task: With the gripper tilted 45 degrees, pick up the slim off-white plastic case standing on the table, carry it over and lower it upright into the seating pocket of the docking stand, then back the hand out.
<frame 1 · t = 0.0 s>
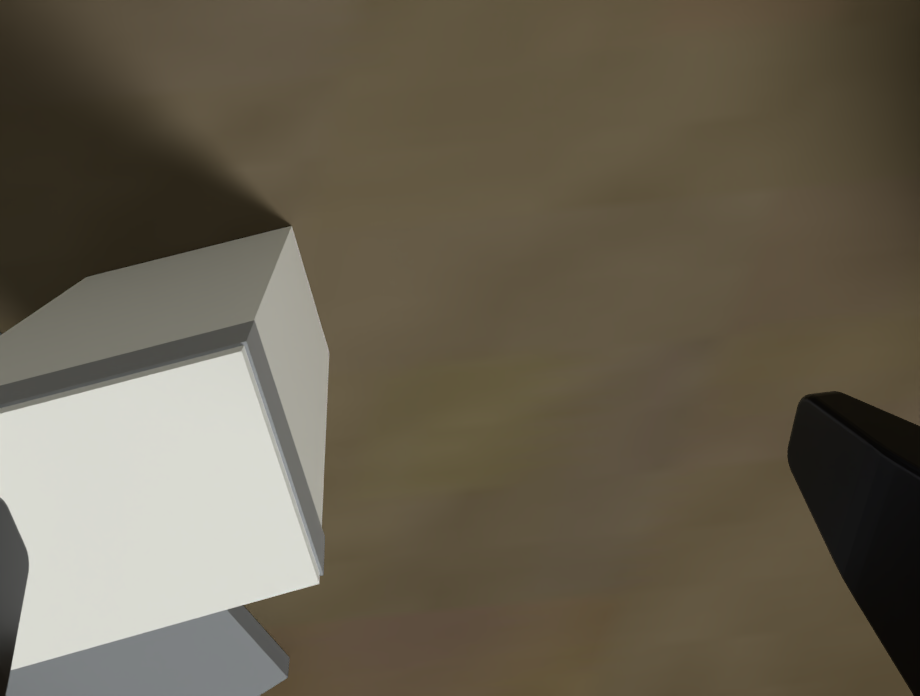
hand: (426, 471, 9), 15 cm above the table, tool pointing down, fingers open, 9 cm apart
slim case: (212, 316, 24), on the table
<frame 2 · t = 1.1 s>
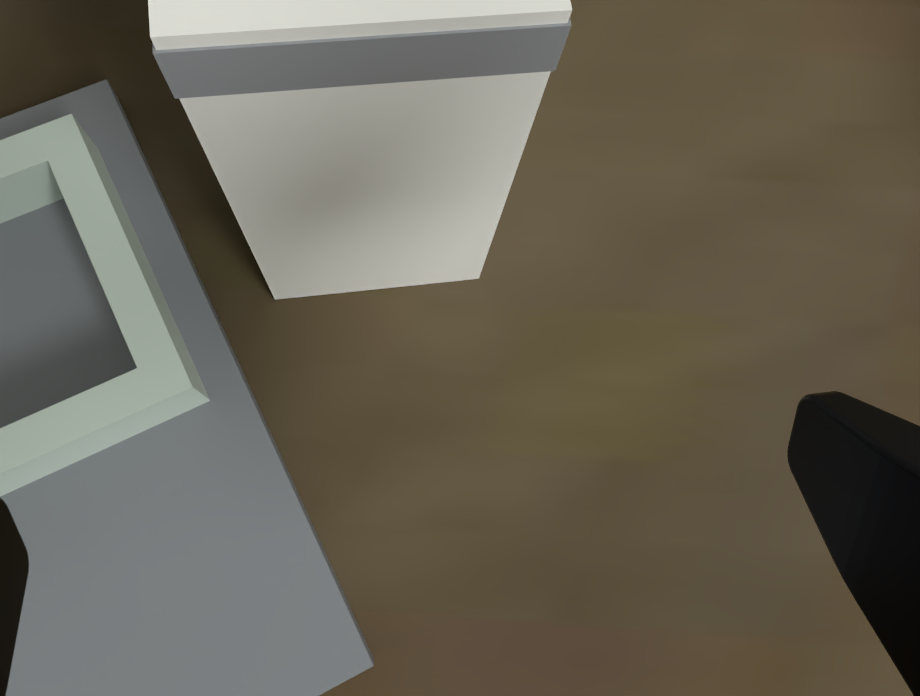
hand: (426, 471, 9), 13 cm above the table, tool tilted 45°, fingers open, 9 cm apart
slim case: (370, 225, 24), on the table
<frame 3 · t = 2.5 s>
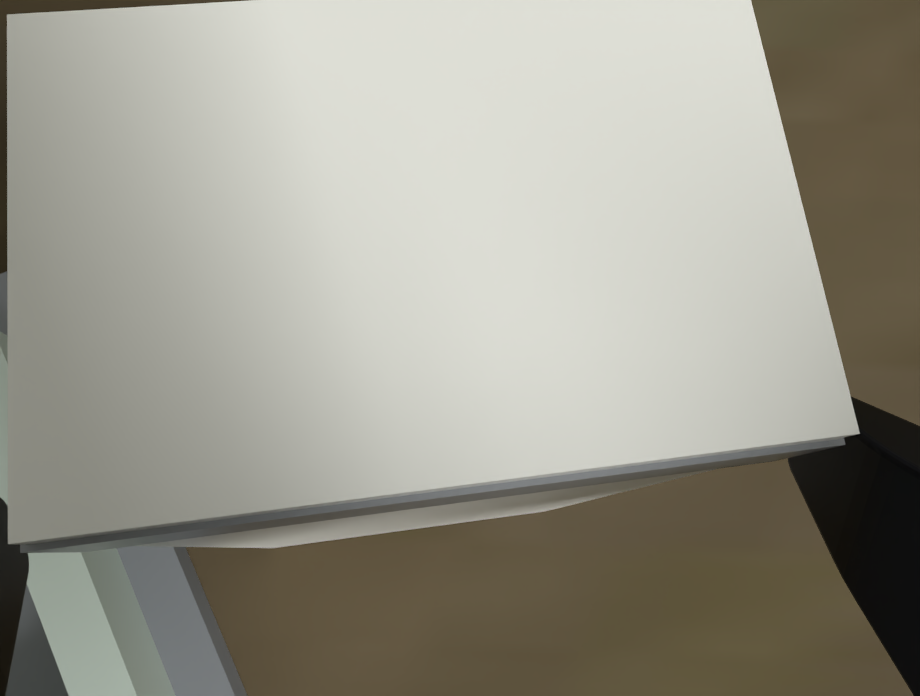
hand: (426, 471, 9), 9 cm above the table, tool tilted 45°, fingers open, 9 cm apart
slim case: (401, 439, 18), on the table
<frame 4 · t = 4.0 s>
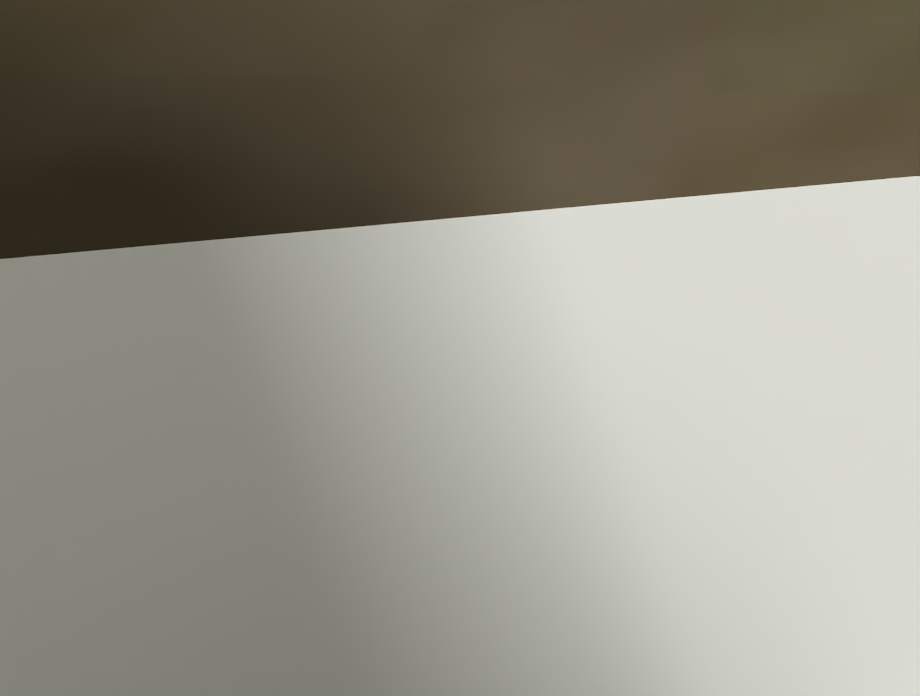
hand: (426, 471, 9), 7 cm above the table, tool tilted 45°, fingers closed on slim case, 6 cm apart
slim case: (419, 574, 15), on the table, touching gripper
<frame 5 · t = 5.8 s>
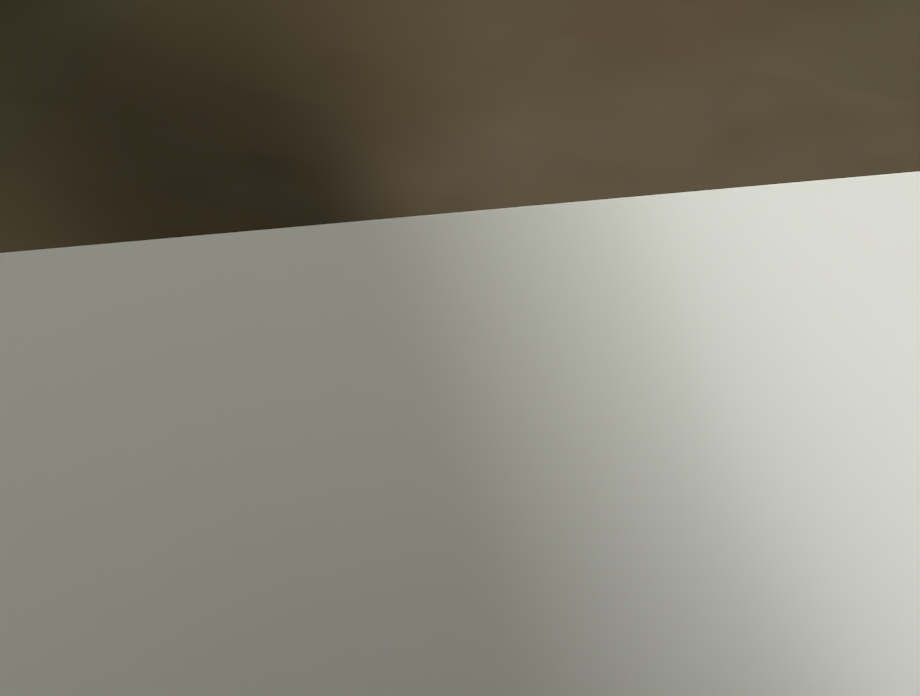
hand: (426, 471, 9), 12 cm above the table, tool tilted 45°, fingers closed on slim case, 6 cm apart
slim case: (420, 573, 15), point 6 cm above the table, touching gripper
when the fingers open (9 cm above the table, at t = 7.6 s): slim case drops 1 cm, resting on docking stand.
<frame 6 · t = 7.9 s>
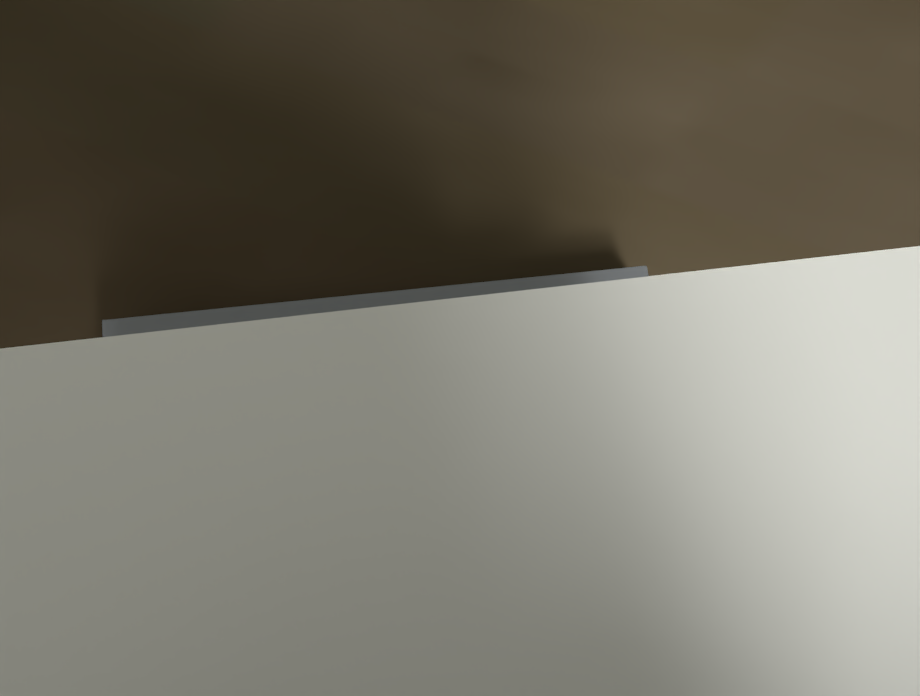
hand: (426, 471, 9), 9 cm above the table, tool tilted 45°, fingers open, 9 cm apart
slim case: (418, 572, 16), point 1 cm above the table, touching docking stand
docking stand: (415, 570, 17), on the table
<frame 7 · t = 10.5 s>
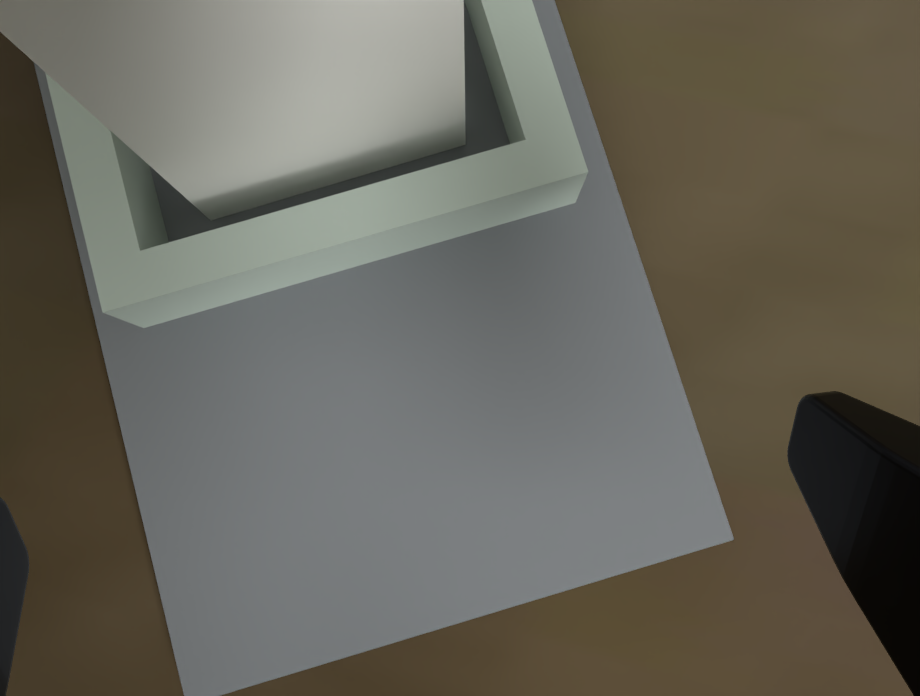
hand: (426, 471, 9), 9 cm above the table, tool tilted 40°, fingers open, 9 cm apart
slim case: (315, 102, 18), point 1 cm above the table, touching docking stand
docking stand: (322, 119, 19), on the table
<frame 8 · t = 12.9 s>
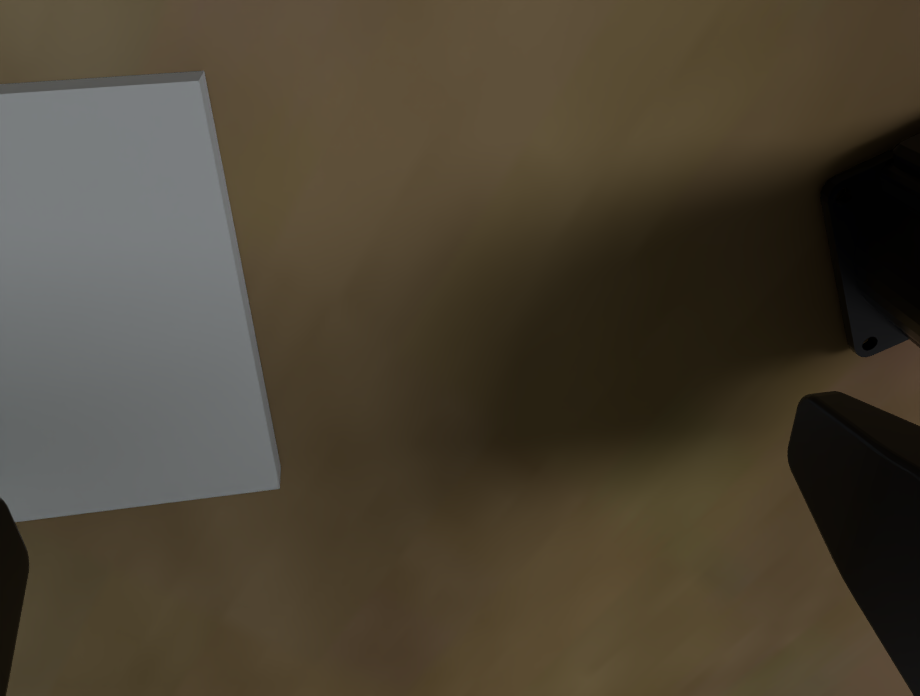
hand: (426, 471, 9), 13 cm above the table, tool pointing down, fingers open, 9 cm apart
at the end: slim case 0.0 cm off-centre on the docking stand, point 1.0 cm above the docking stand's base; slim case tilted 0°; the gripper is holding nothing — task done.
